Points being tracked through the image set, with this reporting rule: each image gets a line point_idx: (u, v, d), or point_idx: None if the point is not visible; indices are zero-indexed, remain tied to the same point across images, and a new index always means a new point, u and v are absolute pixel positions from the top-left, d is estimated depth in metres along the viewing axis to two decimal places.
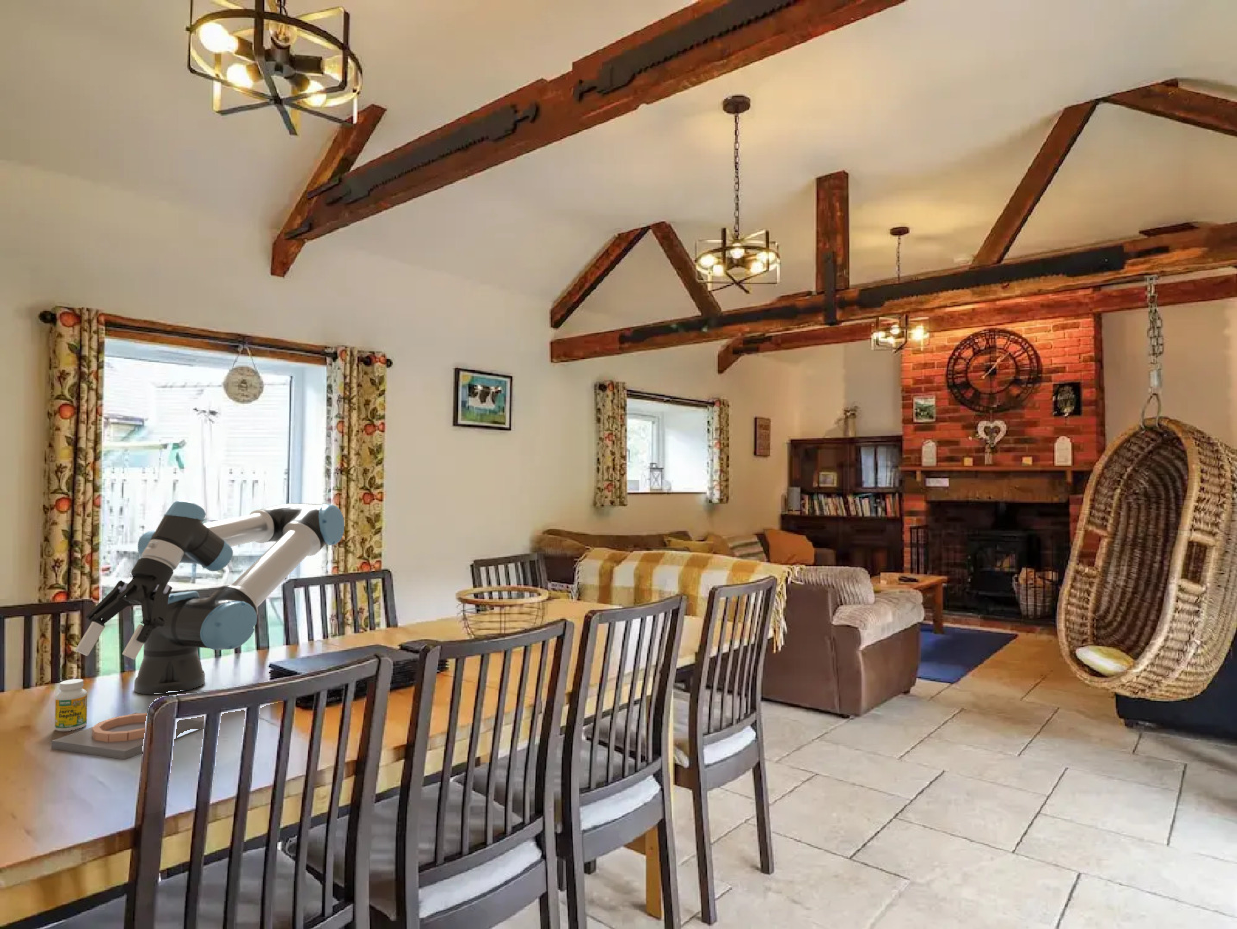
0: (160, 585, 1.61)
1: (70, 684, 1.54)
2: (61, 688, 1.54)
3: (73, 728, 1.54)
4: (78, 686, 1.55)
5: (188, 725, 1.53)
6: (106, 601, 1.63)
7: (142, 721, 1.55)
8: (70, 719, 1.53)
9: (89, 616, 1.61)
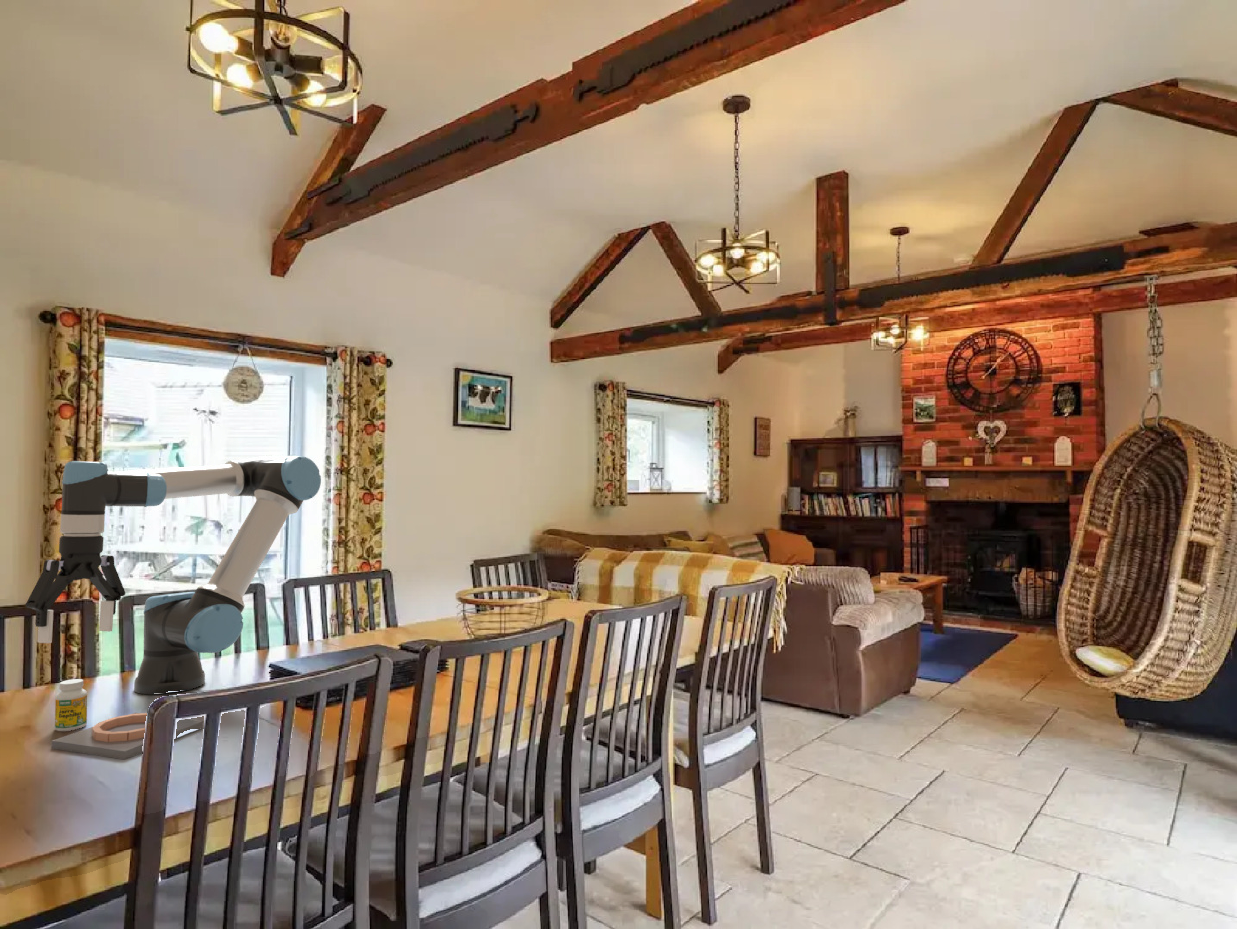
0: None
1: (70, 684, 1.54)
2: (61, 688, 1.54)
3: (73, 728, 1.54)
4: (78, 687, 1.55)
5: (188, 725, 1.53)
6: (106, 577, 1.63)
7: (142, 721, 1.55)
8: (70, 720, 1.53)
9: None
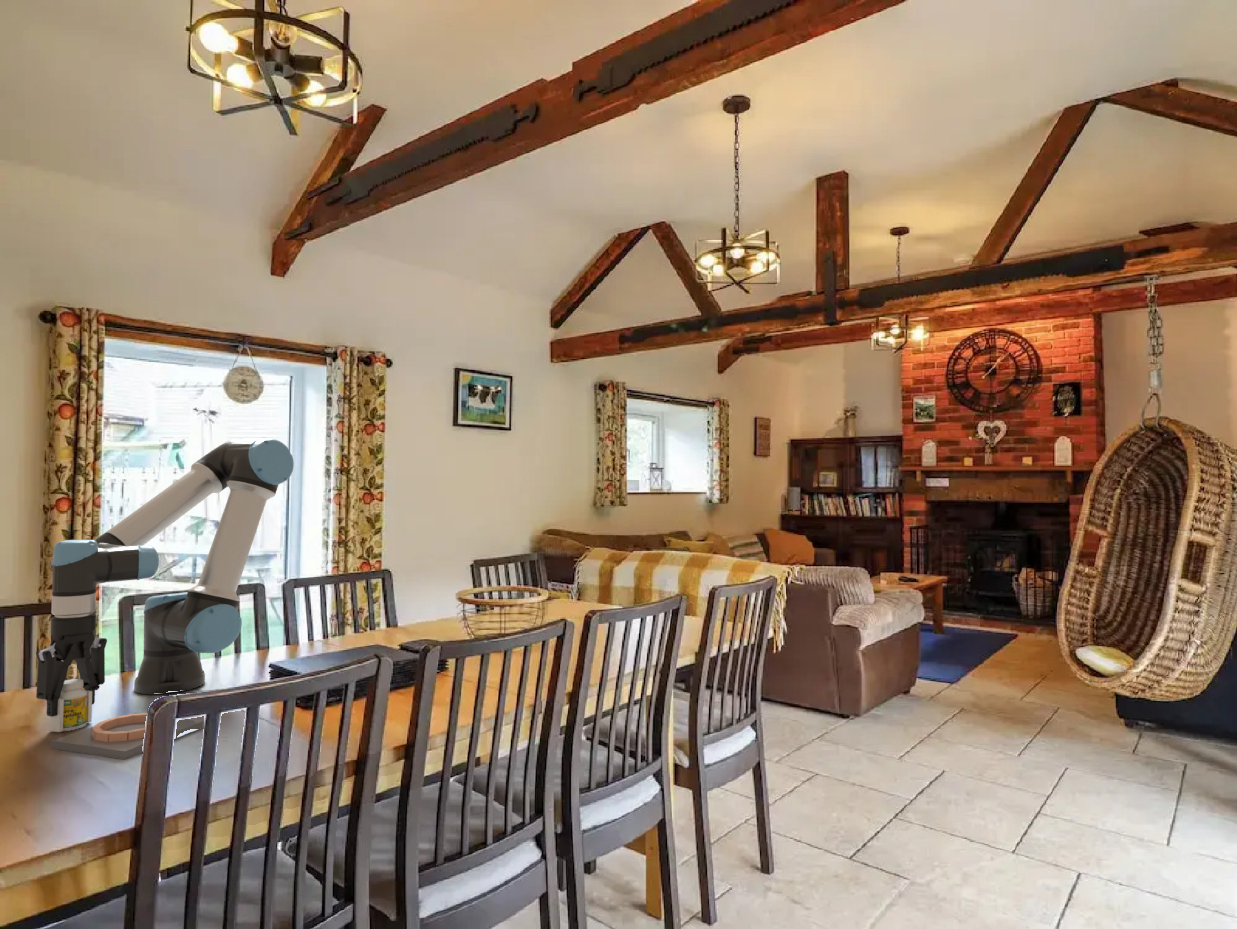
0: None
1: (70, 684, 1.54)
2: None
3: (73, 728, 1.54)
4: (78, 686, 1.55)
5: (188, 725, 1.53)
6: (91, 661, 1.61)
7: (142, 721, 1.55)
8: (70, 719, 1.53)
9: None
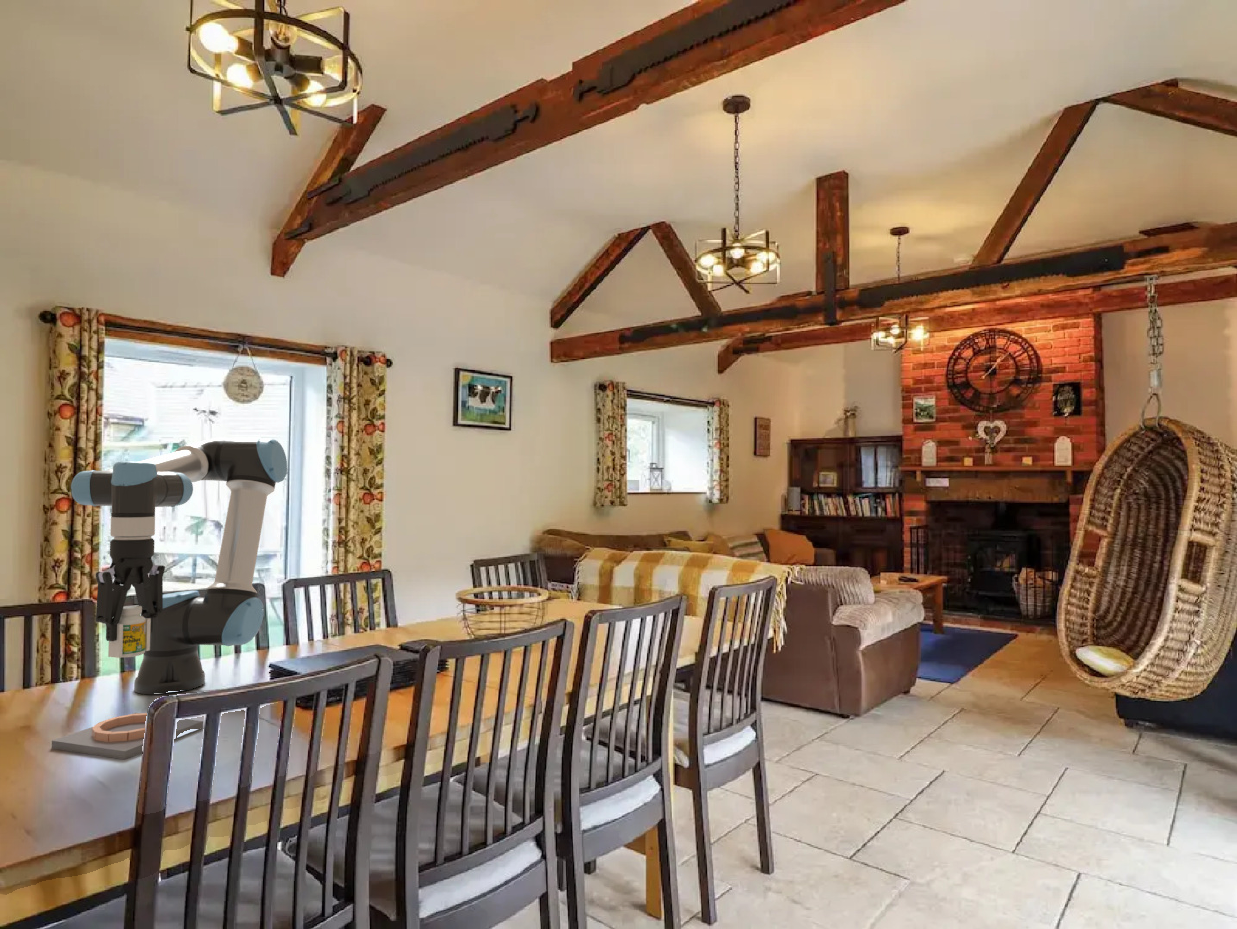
0: None
1: (129, 609, 1.49)
2: None
3: (132, 654, 1.48)
4: (137, 612, 1.50)
5: (188, 725, 1.53)
6: None
7: (142, 721, 1.55)
8: (129, 645, 1.48)
9: None
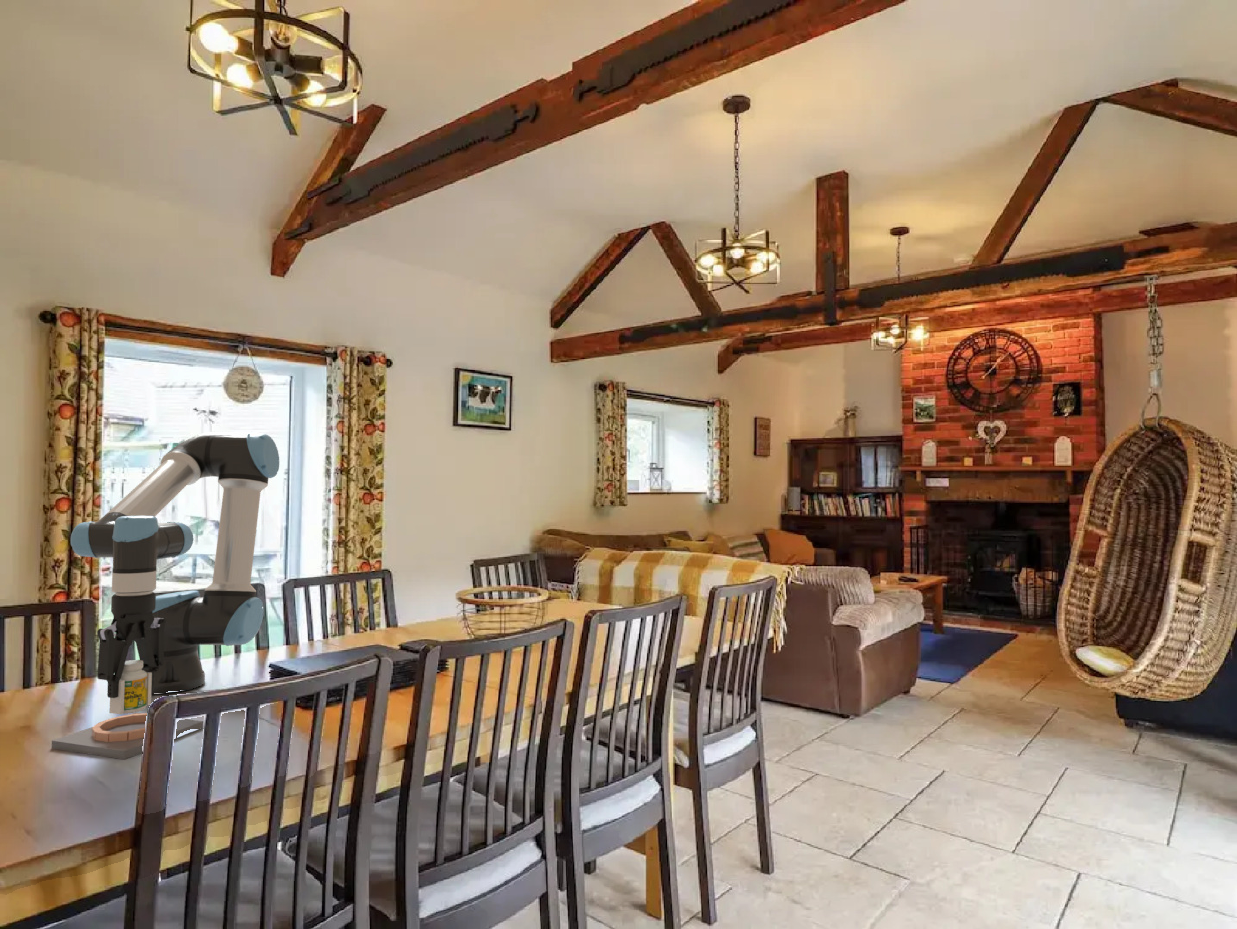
0: None
1: (131, 665, 1.48)
2: None
3: (134, 710, 1.48)
4: (138, 667, 1.49)
5: (188, 725, 1.53)
6: (150, 642, 1.55)
7: (142, 721, 1.55)
8: (131, 701, 1.48)
9: None
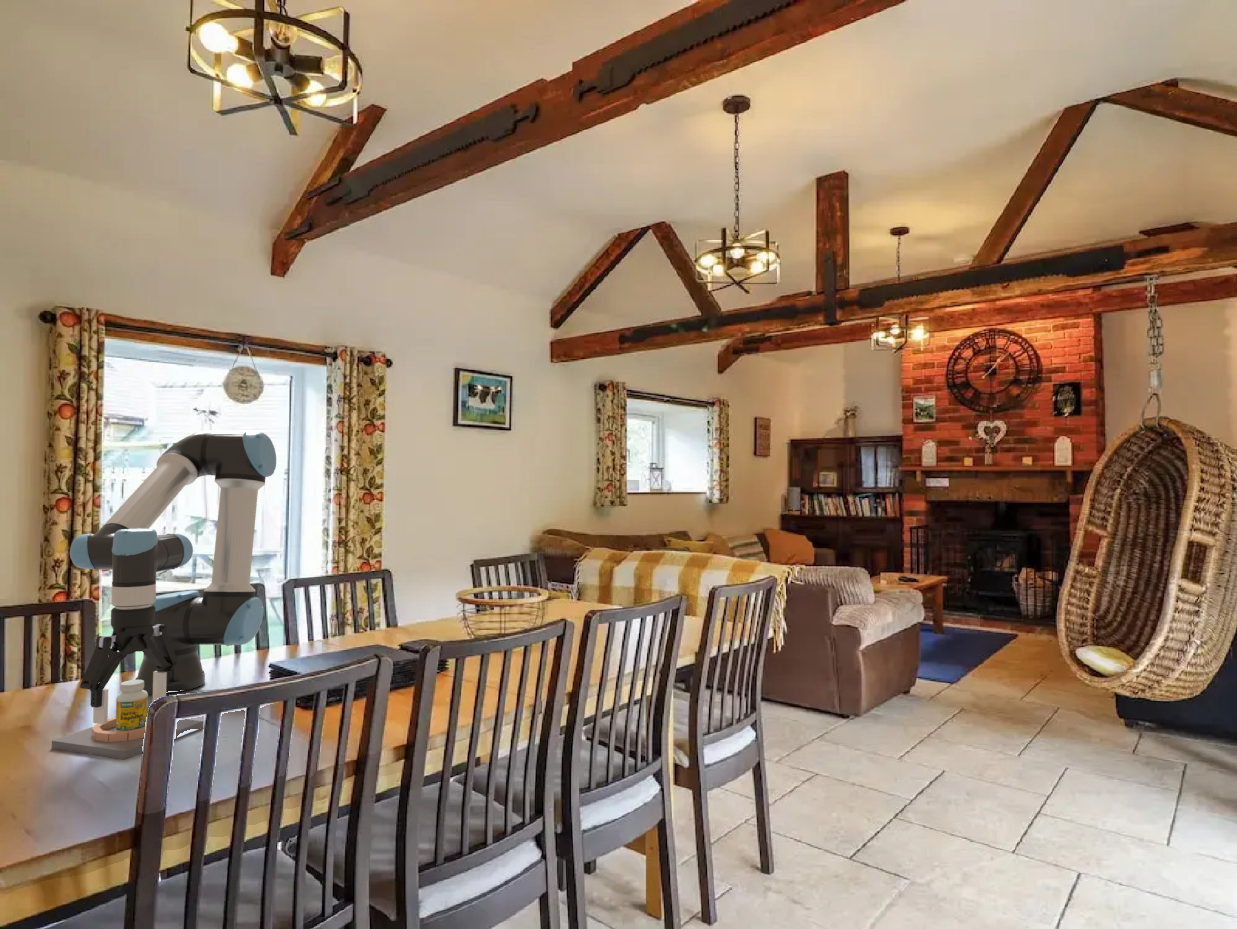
0: None
1: (132, 685, 1.48)
2: (122, 689, 1.48)
3: None
4: (140, 688, 1.49)
5: (188, 725, 1.53)
6: (158, 647, 1.57)
7: None
8: (132, 722, 1.48)
9: None
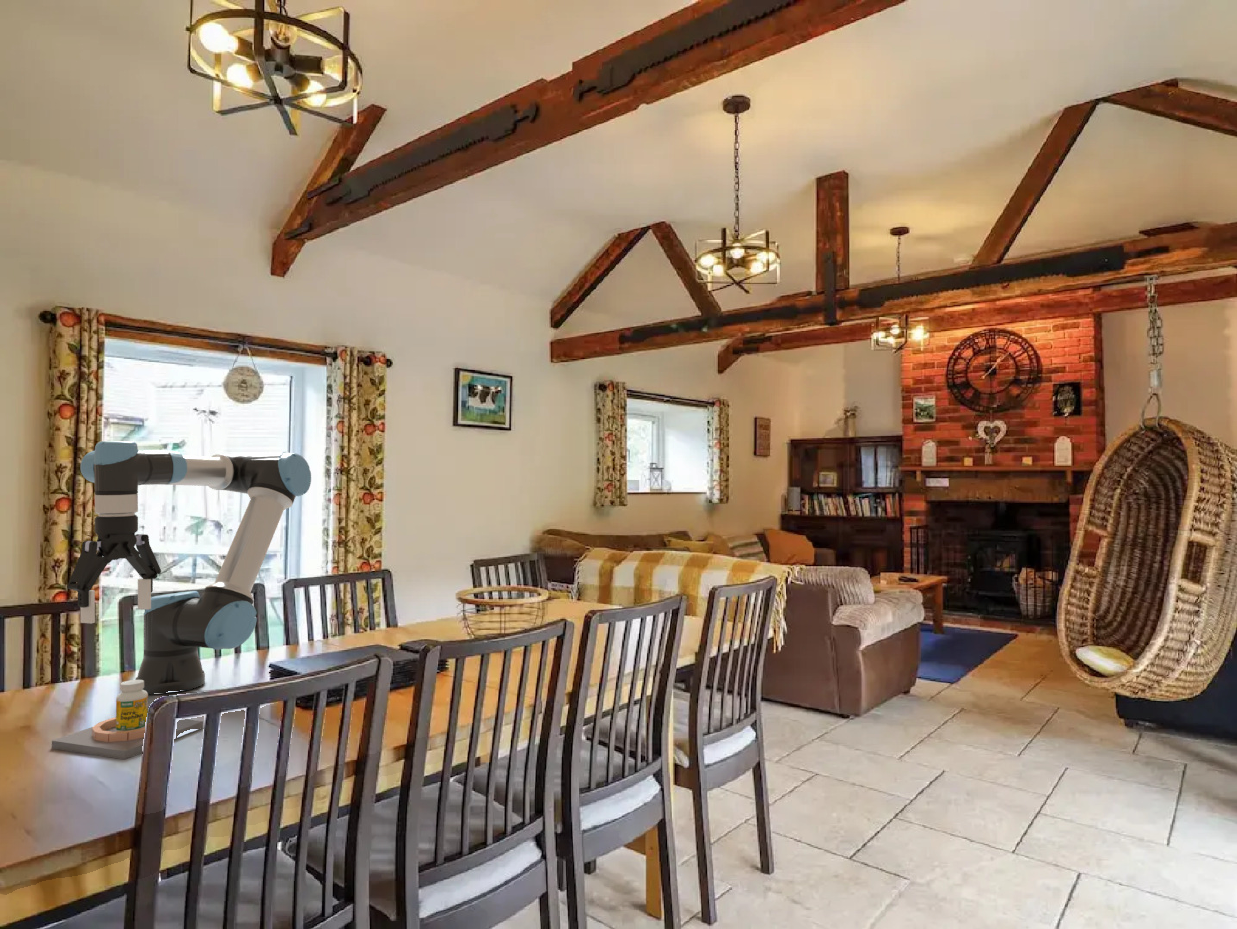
0: None
1: (132, 685, 1.49)
2: (122, 689, 1.48)
3: None
4: (139, 687, 1.50)
5: (188, 725, 1.53)
6: (141, 556, 1.64)
7: None
8: (132, 722, 1.48)
9: None
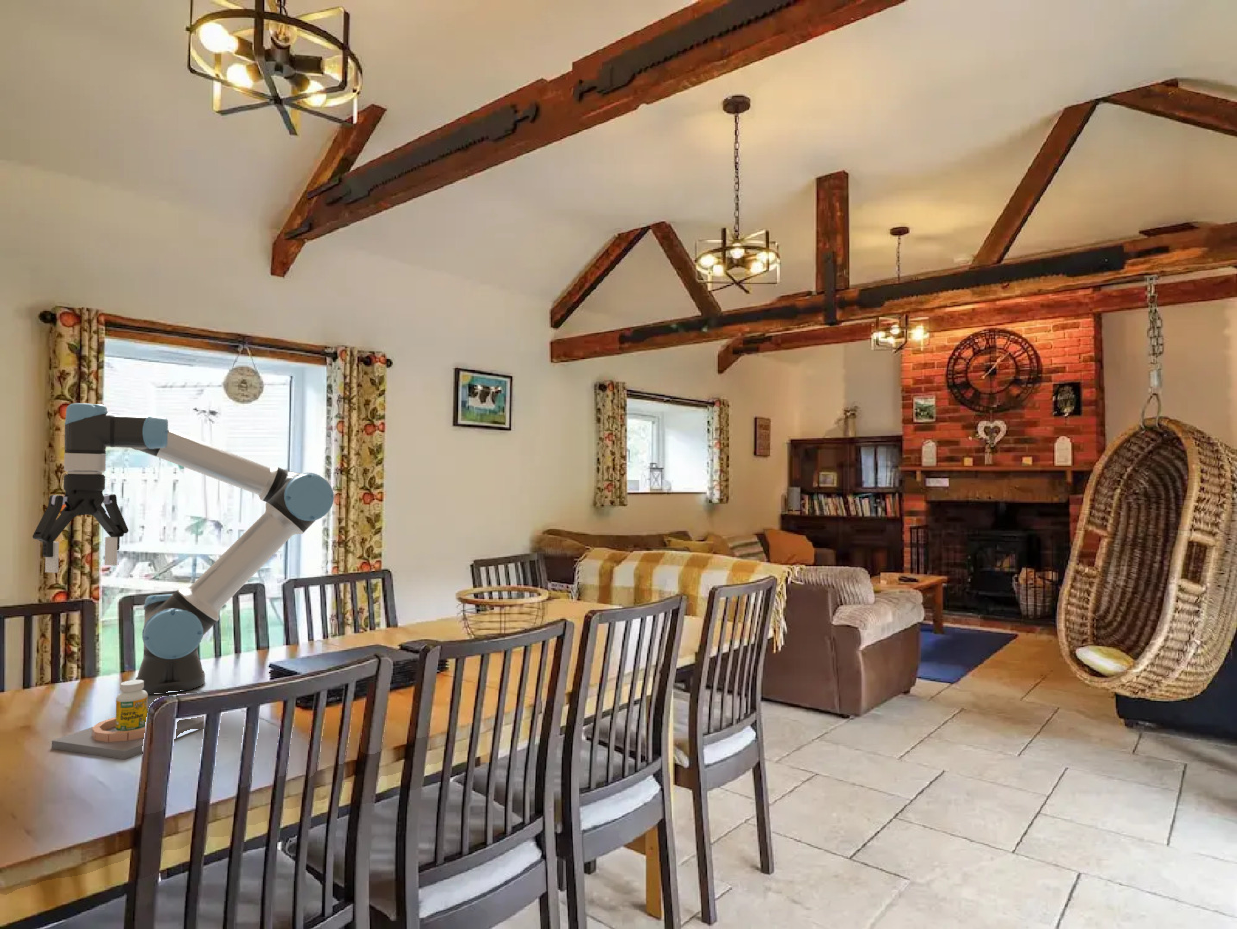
0: None
1: (131, 685, 1.49)
2: (122, 689, 1.48)
3: None
4: (139, 687, 1.50)
5: (188, 725, 1.53)
6: (109, 515, 1.73)
7: None
8: (132, 722, 1.48)
9: None
